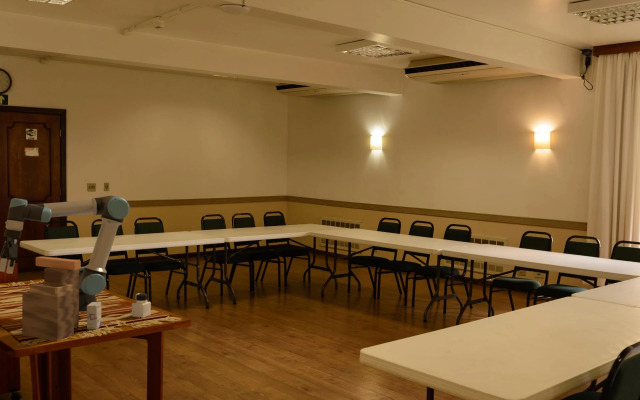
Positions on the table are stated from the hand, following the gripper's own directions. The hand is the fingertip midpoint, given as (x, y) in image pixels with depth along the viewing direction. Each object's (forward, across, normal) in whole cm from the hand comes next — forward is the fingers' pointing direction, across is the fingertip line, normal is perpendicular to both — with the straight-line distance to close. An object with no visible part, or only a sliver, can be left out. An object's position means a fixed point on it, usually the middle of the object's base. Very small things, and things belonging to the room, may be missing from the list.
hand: (5, 272), depth 300 cm
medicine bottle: (+15, +18, +66) cm, 70 cm away
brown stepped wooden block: (+24, +26, +21) cm, 41 cm away
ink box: (+21, +26, +38) cm, 51 cm away
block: (-6, +21, +17) cm, 28 cm away
